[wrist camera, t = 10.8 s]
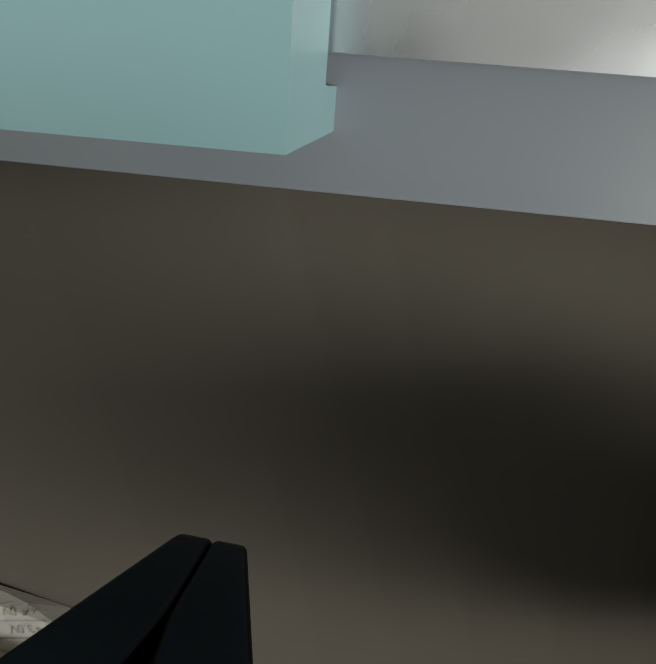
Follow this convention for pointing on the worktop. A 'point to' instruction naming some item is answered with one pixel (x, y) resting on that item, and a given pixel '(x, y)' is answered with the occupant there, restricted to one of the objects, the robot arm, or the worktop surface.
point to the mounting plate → (432, 141)
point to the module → (169, 71)
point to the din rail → (503, 33)
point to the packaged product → (23, 616)
